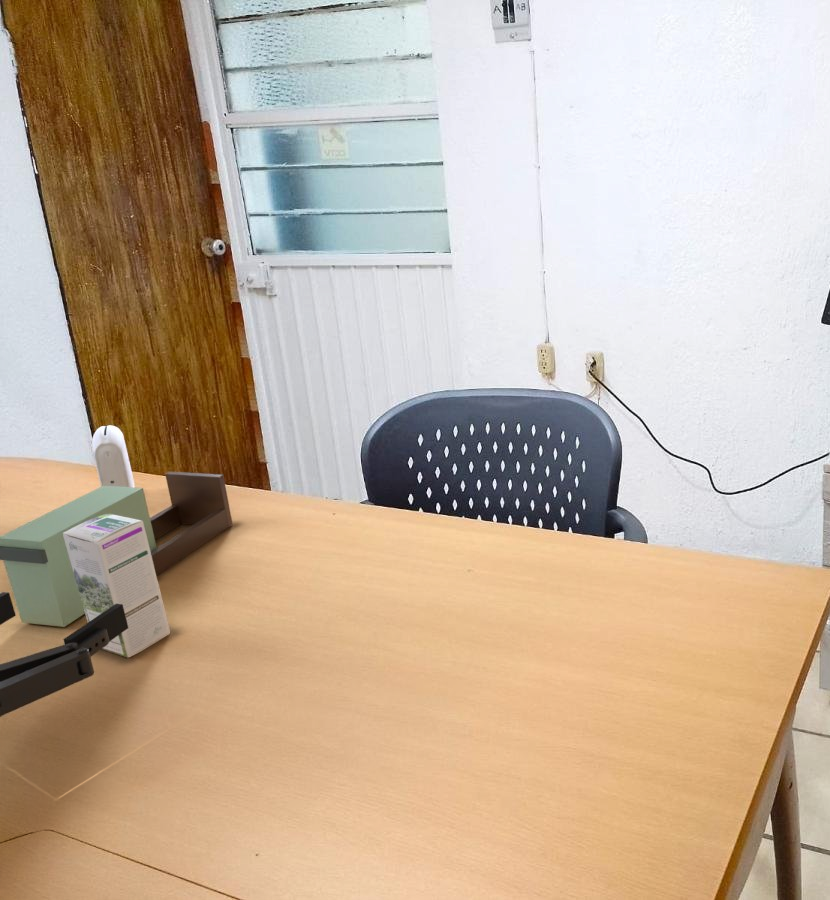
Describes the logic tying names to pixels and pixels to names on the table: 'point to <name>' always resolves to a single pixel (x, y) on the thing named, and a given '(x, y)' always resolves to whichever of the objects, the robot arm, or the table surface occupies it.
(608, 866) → the table surface
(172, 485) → the rack
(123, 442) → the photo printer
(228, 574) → the table surface
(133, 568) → the syrup box
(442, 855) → the table surface
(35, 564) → the container
